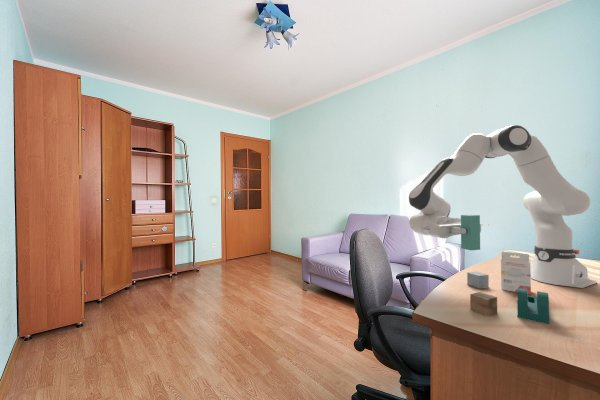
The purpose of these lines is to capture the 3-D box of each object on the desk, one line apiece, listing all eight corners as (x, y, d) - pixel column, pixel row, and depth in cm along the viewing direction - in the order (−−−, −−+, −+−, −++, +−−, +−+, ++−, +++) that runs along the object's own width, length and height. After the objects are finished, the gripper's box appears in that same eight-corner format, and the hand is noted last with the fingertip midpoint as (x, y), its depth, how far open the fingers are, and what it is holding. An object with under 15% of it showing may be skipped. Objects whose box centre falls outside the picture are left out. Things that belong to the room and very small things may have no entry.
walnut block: (479, 307, 84) (479, 291, 84) (497, 313, 79) (497, 297, 79) (470, 310, 81) (470, 294, 81) (487, 316, 77) (487, 299, 77)
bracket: (549, 325, 72) (549, 296, 72) (517, 317, 76) (517, 291, 76) (544, 304, 86) (544, 281, 86) (517, 299, 90) (517, 277, 90)
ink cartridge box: (530, 291, 97) (530, 252, 97) (530, 295, 94) (530, 254, 94) (502, 286, 103) (502, 249, 103) (500, 289, 99) (500, 251, 99)
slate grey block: (476, 283, 107) (476, 271, 107) (488, 287, 102) (488, 274, 102) (467, 284, 106) (467, 272, 106) (478, 288, 101) (478, 275, 101)
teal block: (470, 247, 94) (469, 214, 94) (480, 249, 90) (479, 215, 90) (461, 248, 93) (460, 215, 93) (471, 250, 89) (470, 215, 89)
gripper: (419, 220, 101) (448, 223, 88) (461, 218, 107) (494, 220, 93) (419, 236, 101) (448, 241, 88) (461, 233, 107) (494, 238, 93)
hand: (472, 230), depth 91 cm, fingers closed on teal block, 4 cm apart
